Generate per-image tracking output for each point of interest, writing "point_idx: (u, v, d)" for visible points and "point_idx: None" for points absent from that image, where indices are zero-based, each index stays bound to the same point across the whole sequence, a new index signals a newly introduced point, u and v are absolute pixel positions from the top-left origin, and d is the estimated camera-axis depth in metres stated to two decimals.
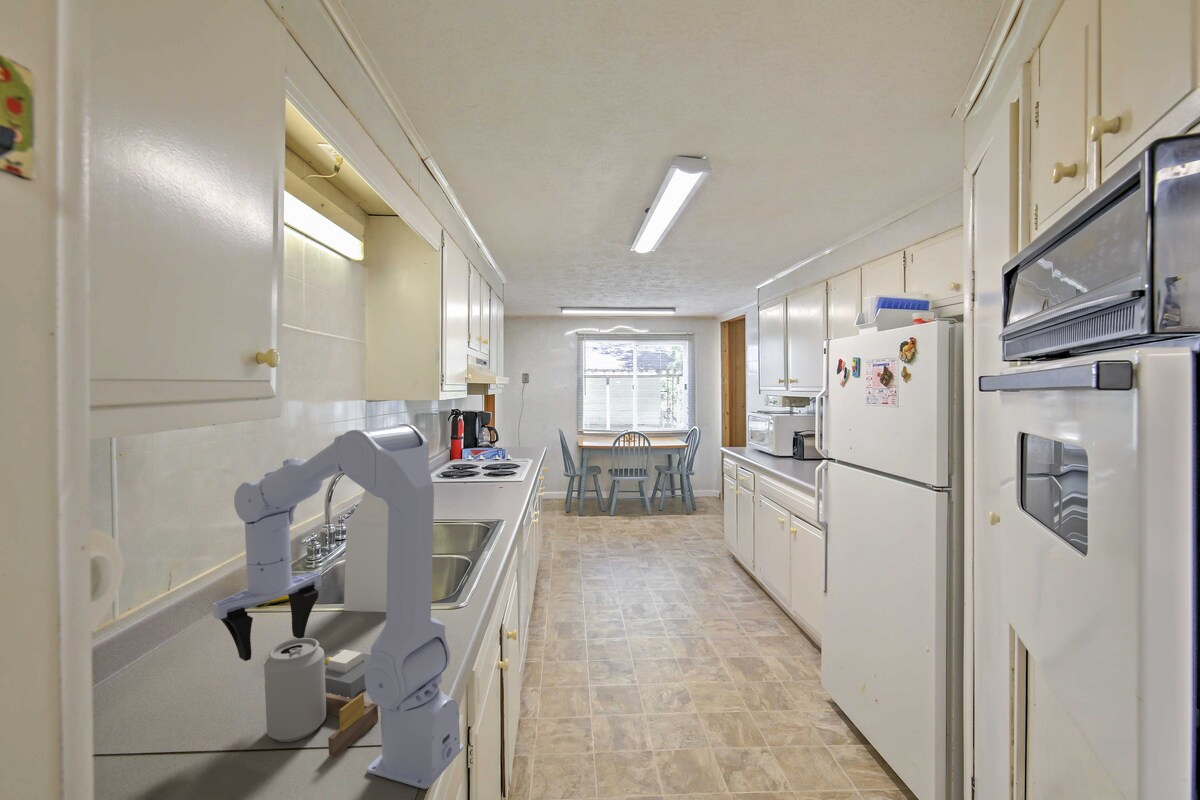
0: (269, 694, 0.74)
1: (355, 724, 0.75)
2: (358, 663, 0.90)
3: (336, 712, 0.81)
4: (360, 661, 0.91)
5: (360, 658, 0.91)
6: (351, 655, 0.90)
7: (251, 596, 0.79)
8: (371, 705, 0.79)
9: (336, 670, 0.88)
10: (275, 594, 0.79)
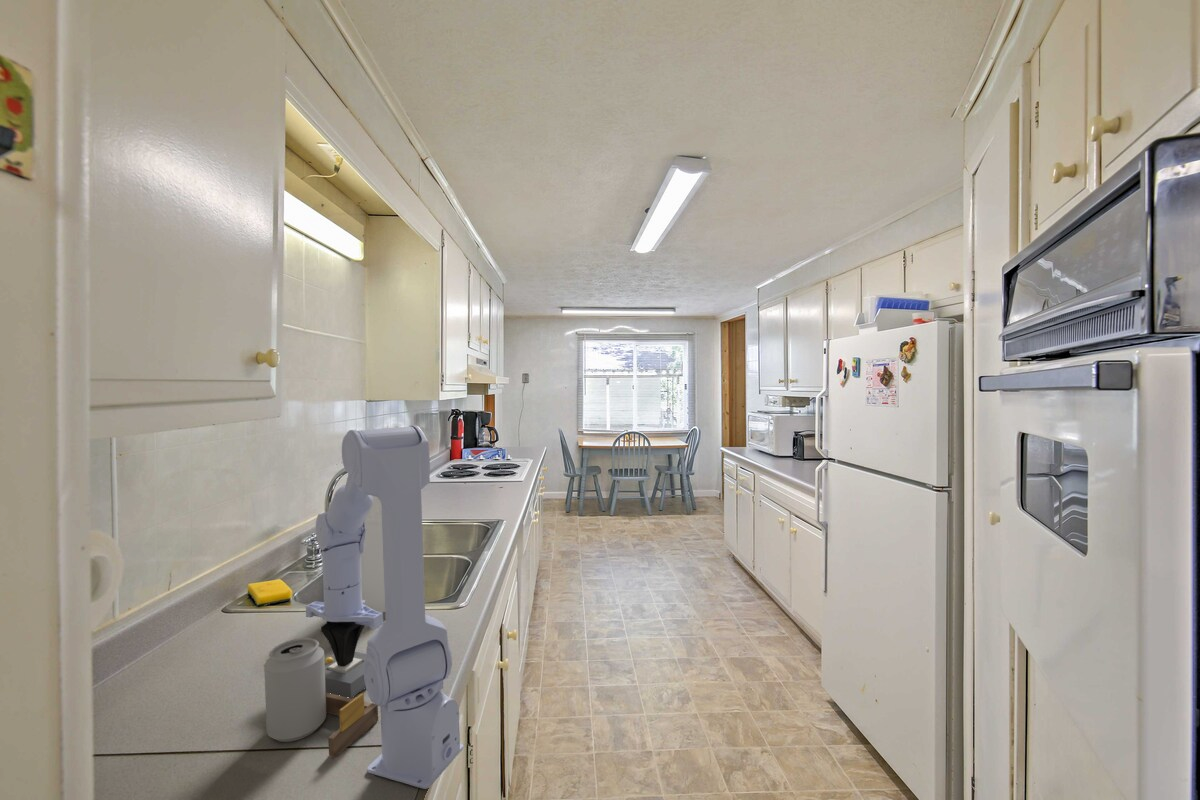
0: (269, 694, 0.74)
1: (355, 724, 0.75)
2: None
3: (336, 712, 0.81)
4: None
5: None
6: (351, 662, 0.90)
7: None
8: (371, 705, 0.79)
9: None
10: (326, 617, 0.87)
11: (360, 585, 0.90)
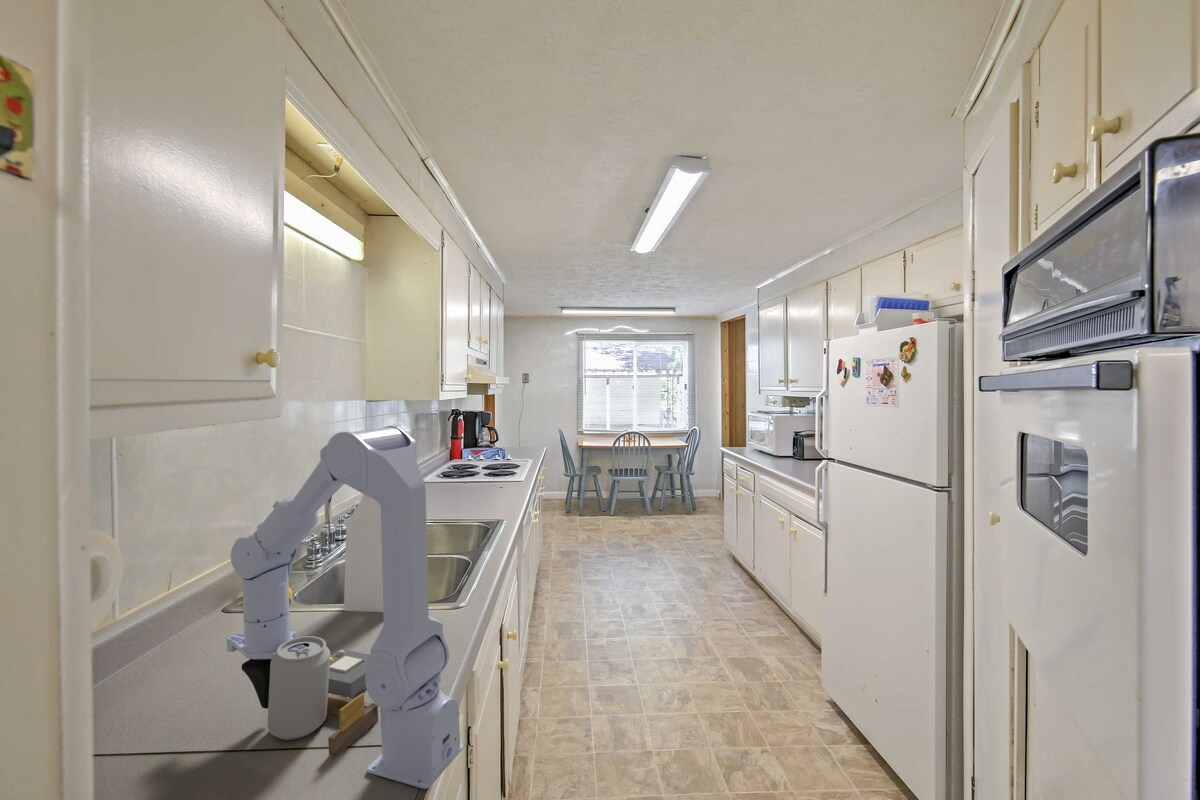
0: (273, 691, 0.74)
1: (355, 724, 0.75)
2: None
3: (336, 712, 0.81)
4: None
5: None
6: (351, 662, 0.90)
7: None
8: (371, 705, 0.79)
9: None
10: (246, 653, 0.76)
11: (287, 616, 0.79)
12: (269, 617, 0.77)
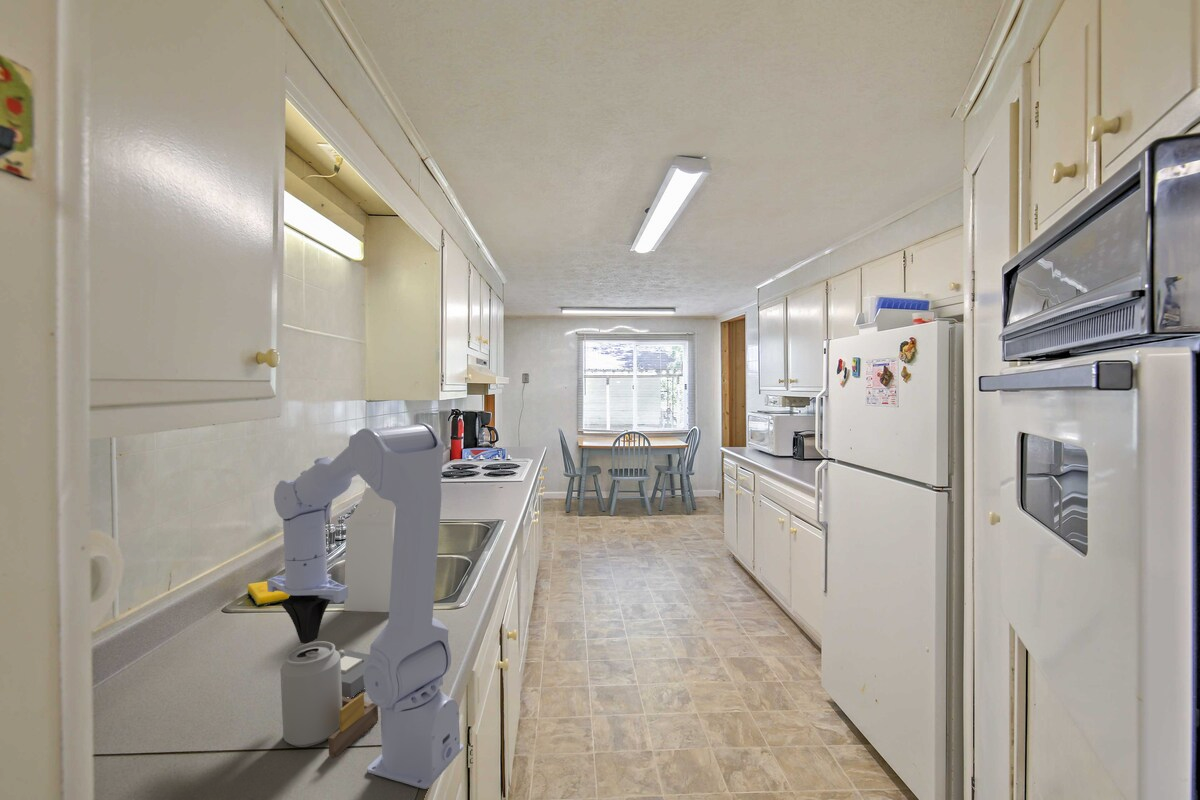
0: (285, 698, 0.73)
1: (355, 724, 0.75)
2: None
3: None
4: None
5: None
6: (351, 662, 0.90)
7: None
8: (371, 705, 0.79)
9: None
10: (287, 590, 0.81)
11: (325, 557, 0.84)
12: (304, 557, 0.81)
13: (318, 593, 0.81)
